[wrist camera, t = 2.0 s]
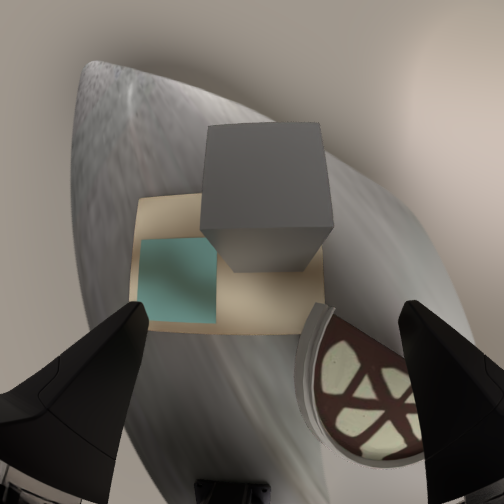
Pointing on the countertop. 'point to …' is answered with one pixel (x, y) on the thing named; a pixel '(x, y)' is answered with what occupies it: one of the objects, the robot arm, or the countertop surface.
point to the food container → (355, 394)
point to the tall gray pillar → (266, 195)
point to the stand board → (210, 279)
